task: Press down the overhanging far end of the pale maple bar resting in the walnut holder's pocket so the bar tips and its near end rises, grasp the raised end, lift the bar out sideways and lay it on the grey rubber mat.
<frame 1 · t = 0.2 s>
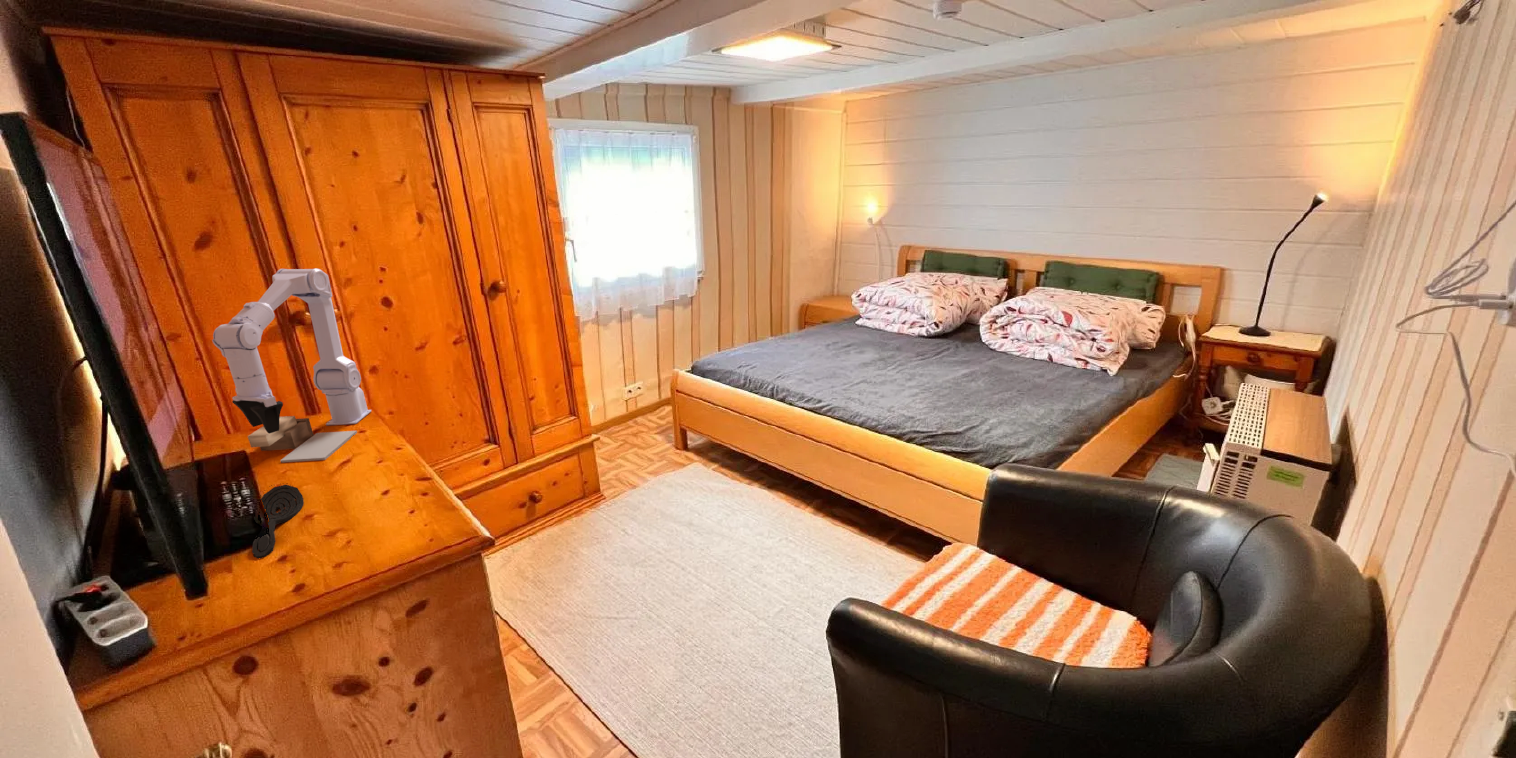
hand: (265, 428, 139), 10 cm above the table, tool pointing down, fingers open, 7 cm apart
mat: (321, 446, 152), on the table
bar: (275, 436, 149), point 4 cm above the table, touching holder
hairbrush: (274, 527, 119), on the table
holder: (278, 449, 150), on the table
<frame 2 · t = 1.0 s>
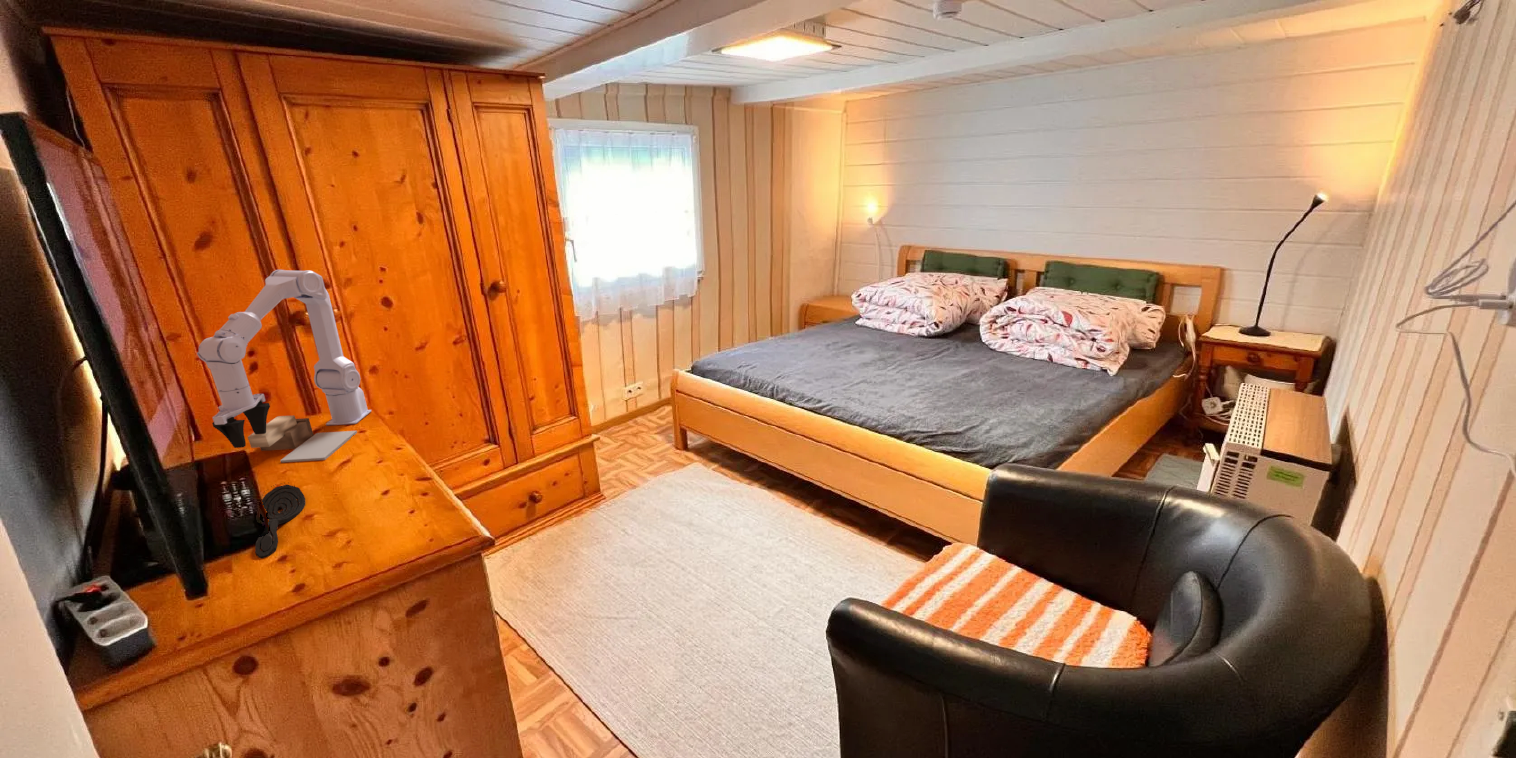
hand: (250, 440, 141), 6 cm above the table, tool pointing down, fingers open, 7 cm apart
bar: (275, 436, 149), point 4 cm above the table, touching gripper, holder
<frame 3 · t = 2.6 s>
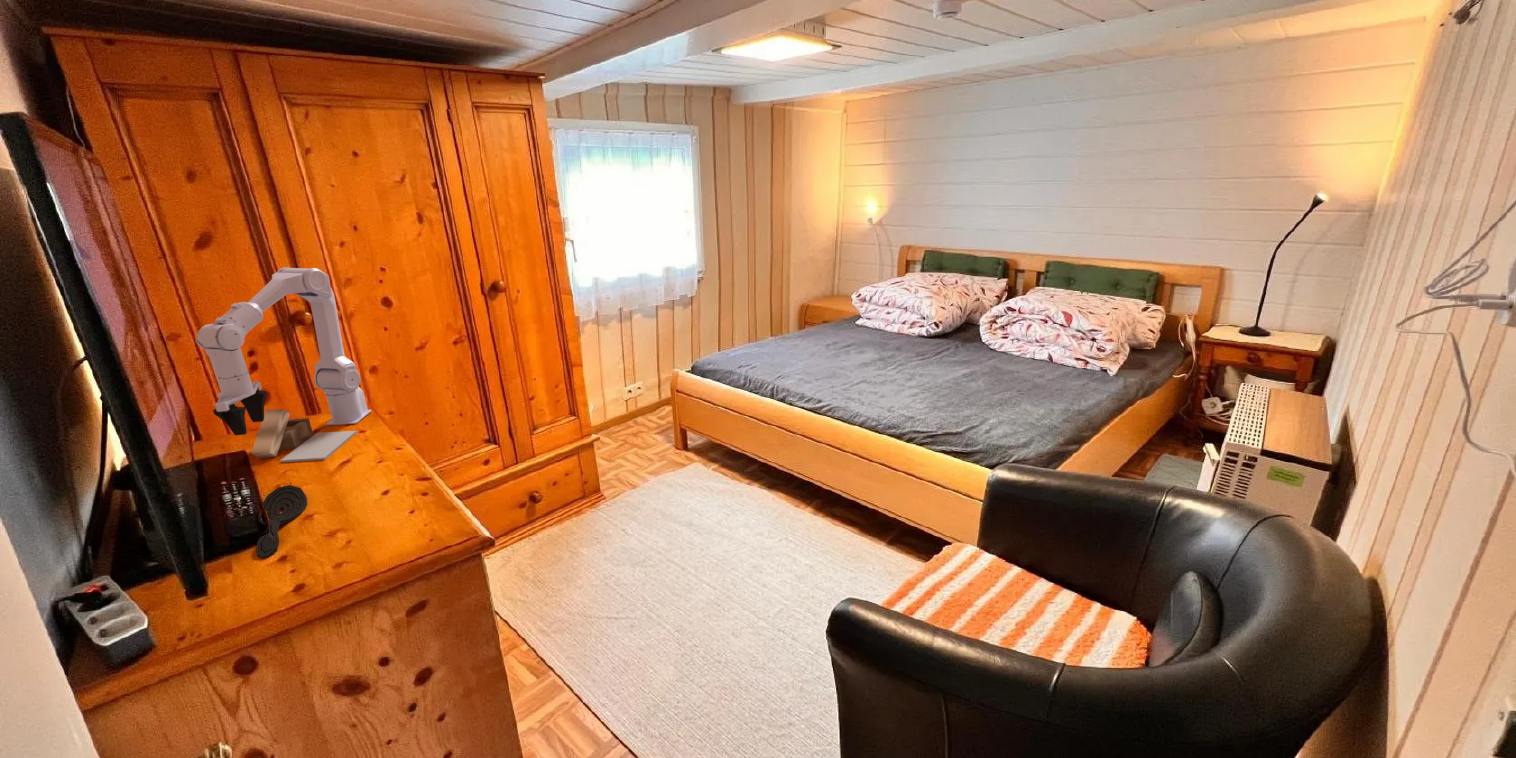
hand: (249, 427, 141), 9 cm above the table, tool pointing down, fingers open, 7 cm apart
bar: (274, 435, 149), point 4 cm above the table, tilted 40°, touching holder
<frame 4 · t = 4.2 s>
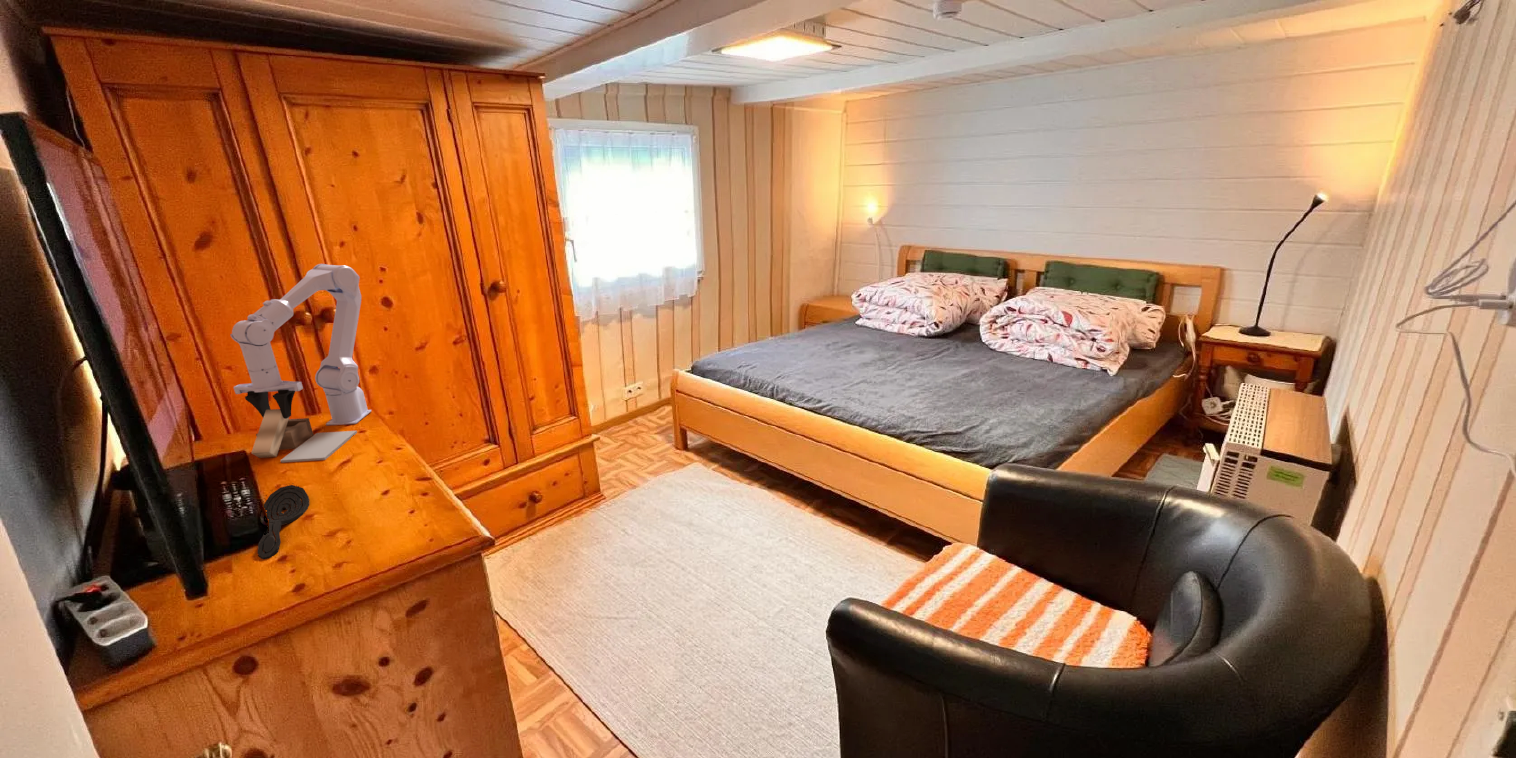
hand: (277, 417, 151), 8 cm above the table, tool pointing down, fingers closed on bar, 4 cm apart
bar: (274, 435, 149), point 4 cm above the table, tilted 40°, touching gripper, holder
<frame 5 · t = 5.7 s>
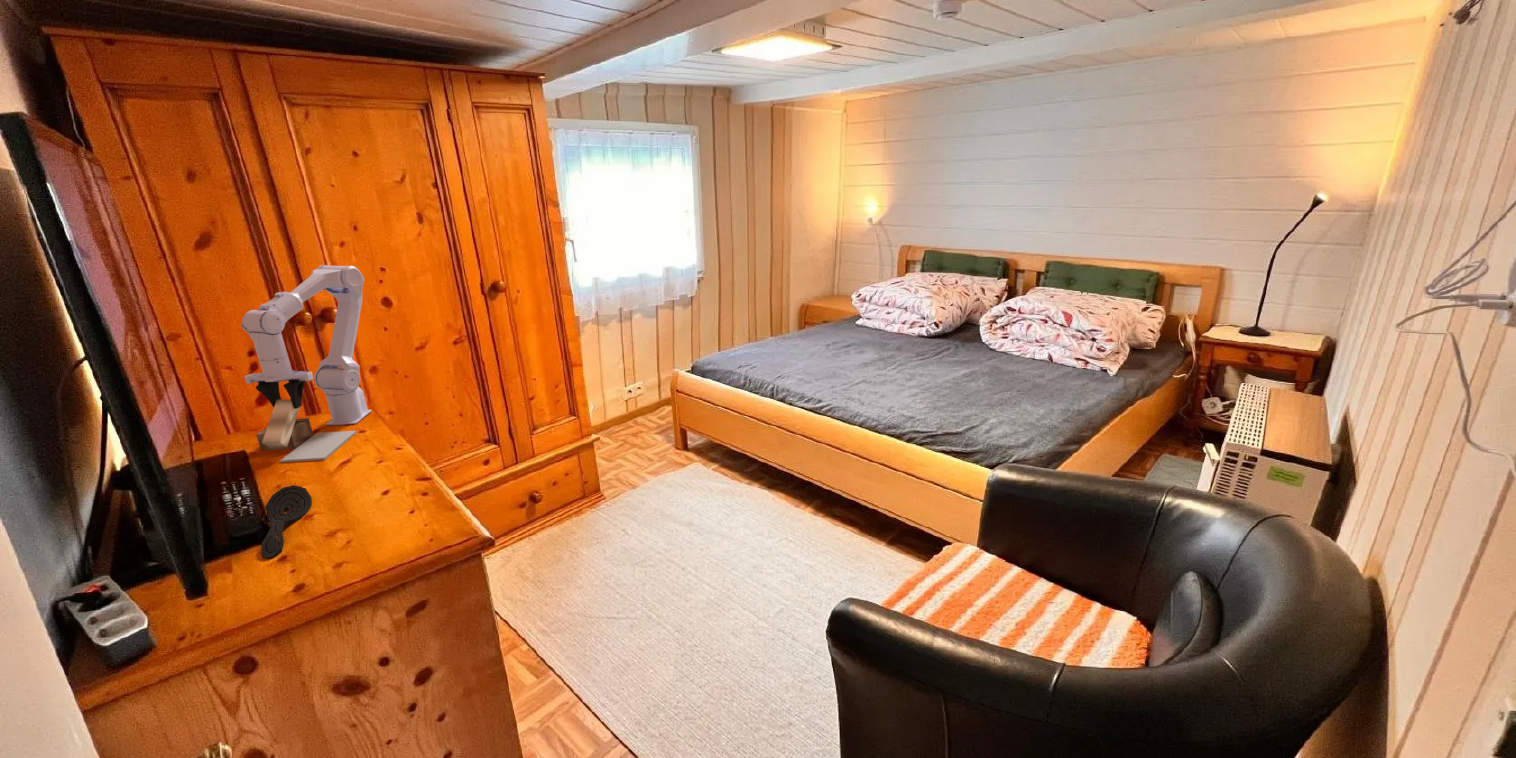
hand: (288, 407, 150), 10 cm above the table, tool pointing down, fingers closed on bar, 4 cm apart
bar: (285, 425, 149), point 6 cm above the table, tilted 40°, touching gripper
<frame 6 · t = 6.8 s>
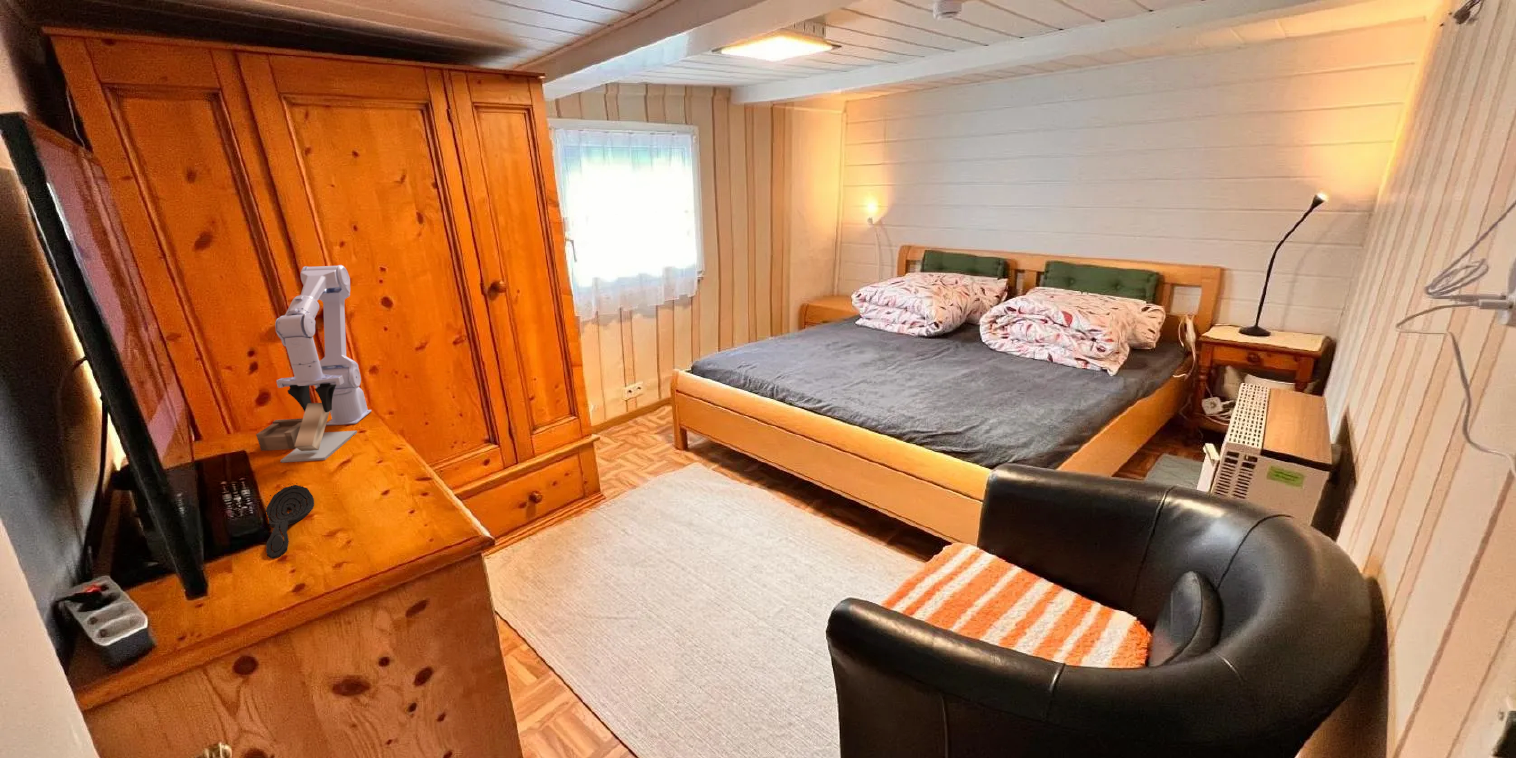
hand: (318, 411, 152), 9 cm above the table, tool pointing down, fingers closed on bar, 4 cm apart
bar: (316, 429, 150), point 5 cm above the table, tilted 40°, touching gripper
when the fingers open (9 cm above the table, at t = 7.2 s): bar drops 4 cm, resting on mat.
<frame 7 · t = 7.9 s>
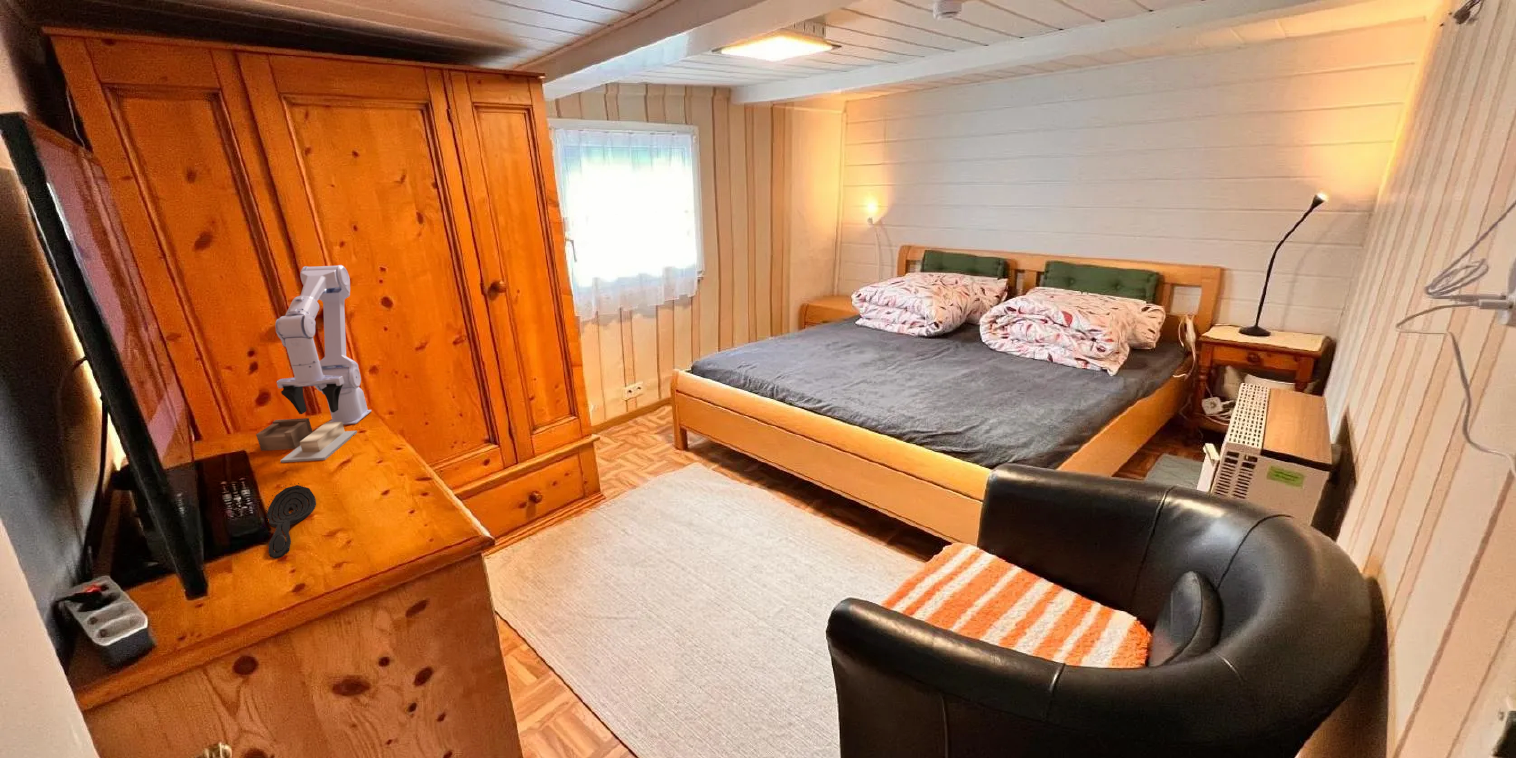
hand: (319, 411, 152), 9 cm above the table, tool pointing down, fingers open, 7 cm apart
bar: (324, 441, 153), point 1 cm above the table, touching mat
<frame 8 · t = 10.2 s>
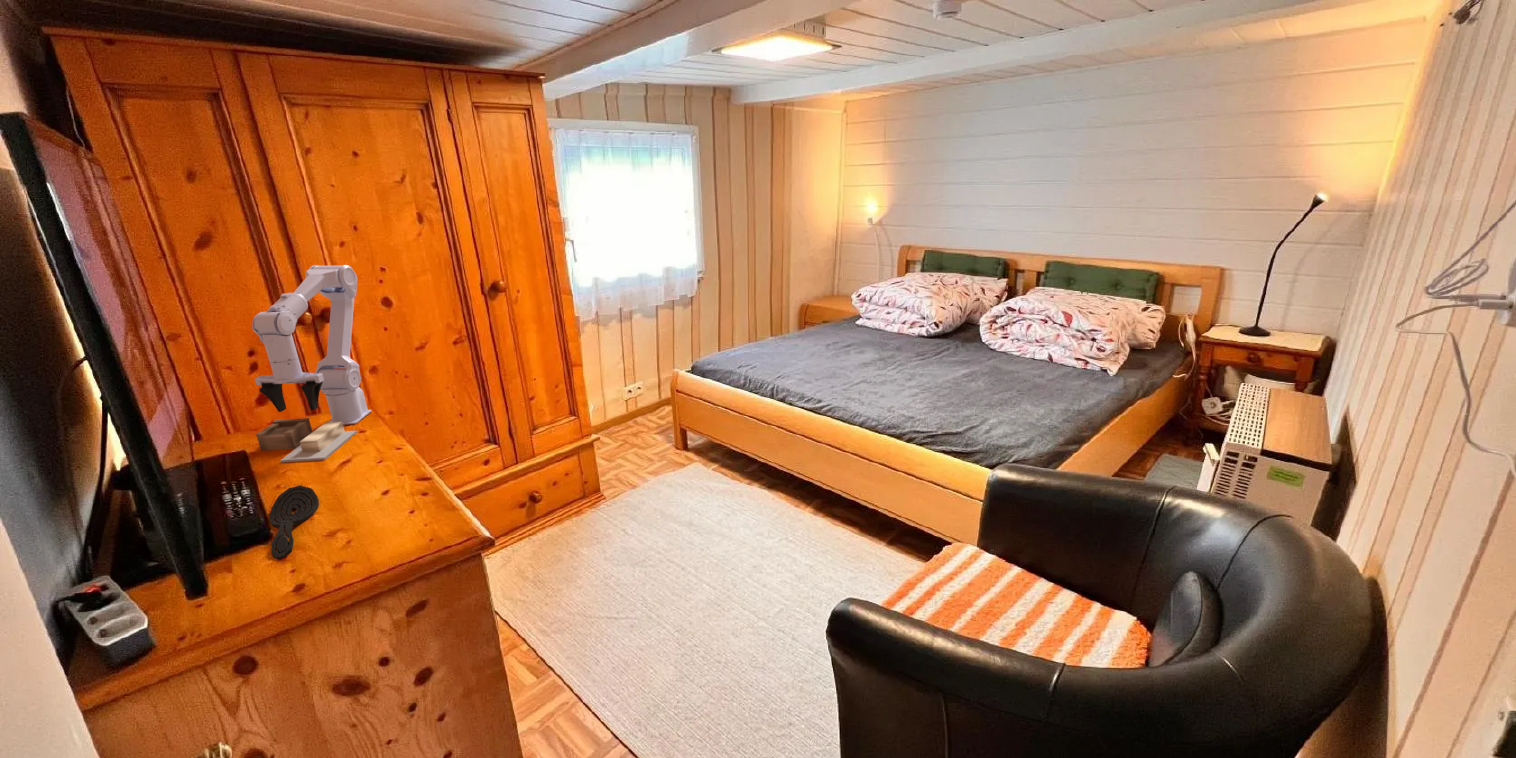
hand: (298, 409, 150), 10 cm above the table, tool pointing down, fingers open, 7 cm apart
at the end: bar inside the target area on the mat (1.8 cm from its centre), point 0.6 cm above the mat's base; bar tilted 0°; bar touching mat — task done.
